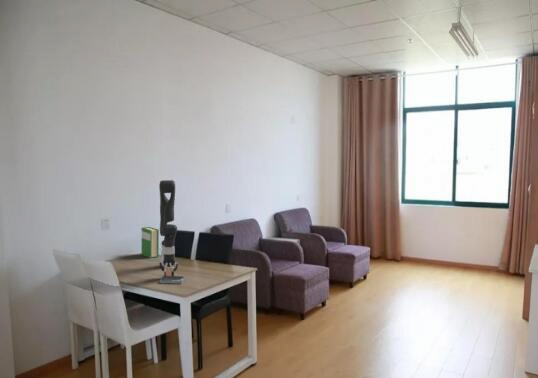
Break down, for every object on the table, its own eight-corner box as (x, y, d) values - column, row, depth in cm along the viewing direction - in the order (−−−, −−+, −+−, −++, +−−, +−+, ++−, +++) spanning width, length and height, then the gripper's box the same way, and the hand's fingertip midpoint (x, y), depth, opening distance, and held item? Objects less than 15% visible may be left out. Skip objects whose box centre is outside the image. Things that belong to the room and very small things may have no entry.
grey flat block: (162, 279, 273) (162, 275, 273) (184, 280, 273) (184, 276, 273) (159, 283, 265) (159, 279, 265) (181, 283, 265) (181, 279, 265)
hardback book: (158, 257, 340) (158, 229, 338) (150, 258, 335) (150, 230, 334) (149, 253, 353) (149, 226, 352) (141, 254, 348) (141, 227, 347)
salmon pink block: (167, 276, 281) (167, 267, 281) (172, 276, 281) (172, 267, 281) (165, 278, 277) (165, 268, 277) (171, 278, 277) (171, 268, 277)
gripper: (180, 251, 282) (180, 275, 283) (160, 251, 282) (160, 275, 283) (178, 254, 274) (177, 278, 275) (157, 253, 274) (157, 278, 275)
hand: (169, 276), depth 279 cm, fingers closed on salmon pink block, 4 cm apart
